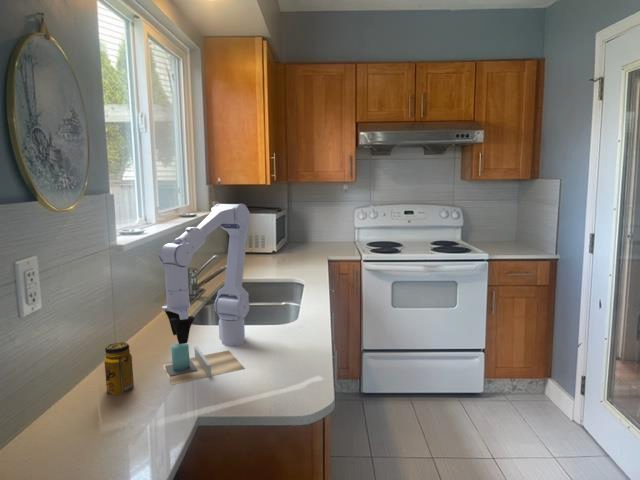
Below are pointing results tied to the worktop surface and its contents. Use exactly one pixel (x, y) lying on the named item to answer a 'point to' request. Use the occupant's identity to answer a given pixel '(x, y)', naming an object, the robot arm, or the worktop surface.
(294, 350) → the worktop surface
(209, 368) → the fence
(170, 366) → the pad
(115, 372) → the condiment
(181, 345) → the peg
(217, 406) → the worktop surface
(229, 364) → the board
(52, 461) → the worktop surface
